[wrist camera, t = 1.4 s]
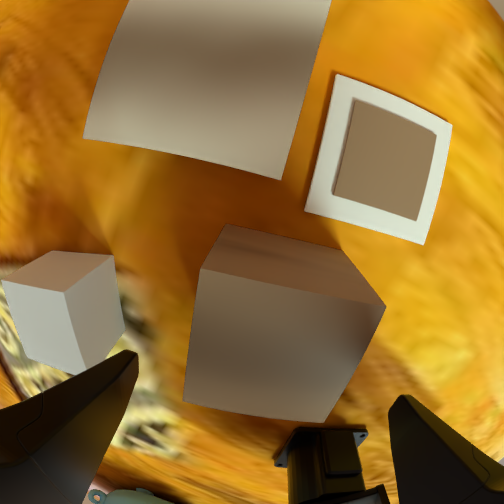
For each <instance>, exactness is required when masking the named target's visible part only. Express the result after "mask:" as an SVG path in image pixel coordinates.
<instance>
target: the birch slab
mask: <svg viewBox="0 0 504 504" xmlns="http://www.w3.org/2000/svg"><path fill="white" fill-rule="evenodd" d="M331 1H332V0H129V2H128V4H127V6H126V9H125V11H124V13H123V15H122V17H121V19H120V21H119V24H118V26H117V28H116V31H115V33H114V35H113V38H112V40H111V43H110V45H109V48H108V51H107V53H106V56H105V59H104V62H103V65H102V68H101V71H100V74H99V77H98V80H97V83H96V86H95V90H94V93H93V97H92V100H91V104H90V108H89V112H88V116H87V120H86V124H85V129H84V133H83V139H90V140H97V141H104V142H111V143H117V144H123V145H129V146H135V147H141V148H146V149H152V150H157V151H162V152H167V153H172V154H177V155H181V156H186V157H191V158H195V159H200V160H204V161H208V162H213V163H217V164H221V165H225V166H229V167H233V168H237V169H241V170H245V171H248V172H252V173H256V174H259V175H263V176H267V177H270V178H274V179H277V180H281V178H282V174H283V171H284V167H285V164H286V160H287V157H288V154H289V150H290V147H291V143H292V140H293V136H294V133H295V129H296V126H297V122H298V119H299V115H300V112H301V108H302V105H303V101H304V98H305V94H306V90H307V87H308V83H309V80H310V76H311V73H312V69H313V66H314V62H315V58H316V55H317V51H318V48H319V44H320V41H321V37H322V33H323V30H324V26H325V22H326V19H327V15H328V12H329V8H330V4H331Z"/></svg>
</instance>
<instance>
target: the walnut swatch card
mask: <svg viewBox="0 0 504 504" xmlns="http://www.w3.org/2000/svg"><path fill="white" fill-rule="evenodd" d="M451 132H452V125H451V124H449V123H448V122H446V121H444V120H442V119H441V118H439V117H437V116H435V115H433V114H431V113H429V112H428V111H426V110H424V109H422V108H420V107H418V106H416V105H414V104H411V103H409V102H407V101H405V100H403V99H401V98H399V97H396V96H394V95H392V94H389V93H387V92H385V91H382V90H380V89H377V88H375V87H372V86H370V85H367V84H365V83H362V82H359V81H356V80H354V79H351V78H348V77H345V76H342V75H339V74H336V75H335V80H334V85H333V90H332V94H331V99H330V104H329V108H328V113H327V117H326V122H325V126H324V131H323V135H322V139H321V144H320V148H319V152H318V156H317V161H316V165H315V169H314V173H313V177H312V181H311V185H310V189H309V193H308V197H307V201H306V204H305V208H304V211H305V212H309V213H313V214H317V215H321V216H325V217H328V218H332V219H336V220H340V221H343V222H347V223H351V224H354V225H358V226H361V227H365V228H368V229H372V230H375V231H379V232H382V233H386V234H389V235H392V236H396V237H399V238H402V239H405V240H409V241H412V242H415V243H418V244H421V245H424V242H425V239H426V236H427V233H428V230H429V227H430V224H431V220H432V217H433V214H434V210H435V206H436V203H437V199H438V195H439V191H440V187H441V183H442V179H443V174H444V170H445V165H446V160H447V155H448V150H449V144H450V138H451Z"/></svg>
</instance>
